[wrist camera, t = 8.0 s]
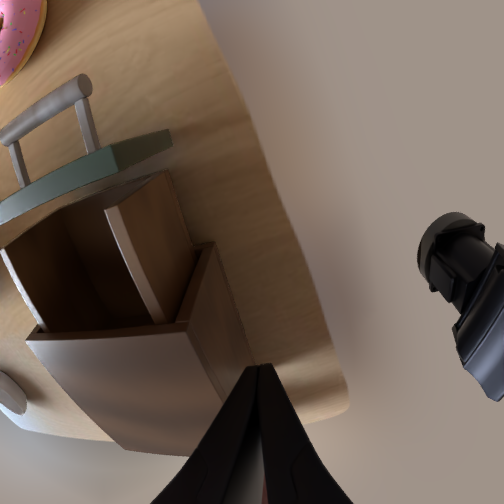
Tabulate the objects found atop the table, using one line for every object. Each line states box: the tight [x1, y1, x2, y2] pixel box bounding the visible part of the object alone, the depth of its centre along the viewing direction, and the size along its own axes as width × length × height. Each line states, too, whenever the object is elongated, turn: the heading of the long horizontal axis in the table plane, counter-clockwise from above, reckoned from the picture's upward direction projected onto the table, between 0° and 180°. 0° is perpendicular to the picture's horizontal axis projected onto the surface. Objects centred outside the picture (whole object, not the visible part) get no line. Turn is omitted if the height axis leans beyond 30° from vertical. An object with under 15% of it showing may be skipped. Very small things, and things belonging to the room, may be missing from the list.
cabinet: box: [25, 242, 256, 457], centre depth 21 cm, size 15×13×10 cm
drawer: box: [0, 74, 198, 333], centre depth 16 cm, size 18×11×8 cm, turn 13°
